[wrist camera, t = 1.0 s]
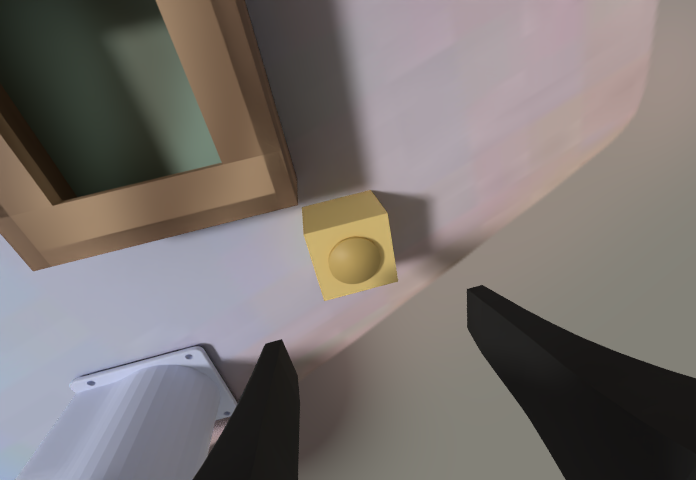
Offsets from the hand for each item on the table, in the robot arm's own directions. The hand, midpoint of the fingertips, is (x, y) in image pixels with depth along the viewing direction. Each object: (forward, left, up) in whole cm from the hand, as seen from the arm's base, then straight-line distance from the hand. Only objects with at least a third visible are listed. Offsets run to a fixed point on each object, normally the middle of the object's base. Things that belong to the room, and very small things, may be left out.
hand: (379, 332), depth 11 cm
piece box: (-8, +10, -9) cm, 16 cm away
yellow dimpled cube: (0, 0, -10) cm, 10 cm away
